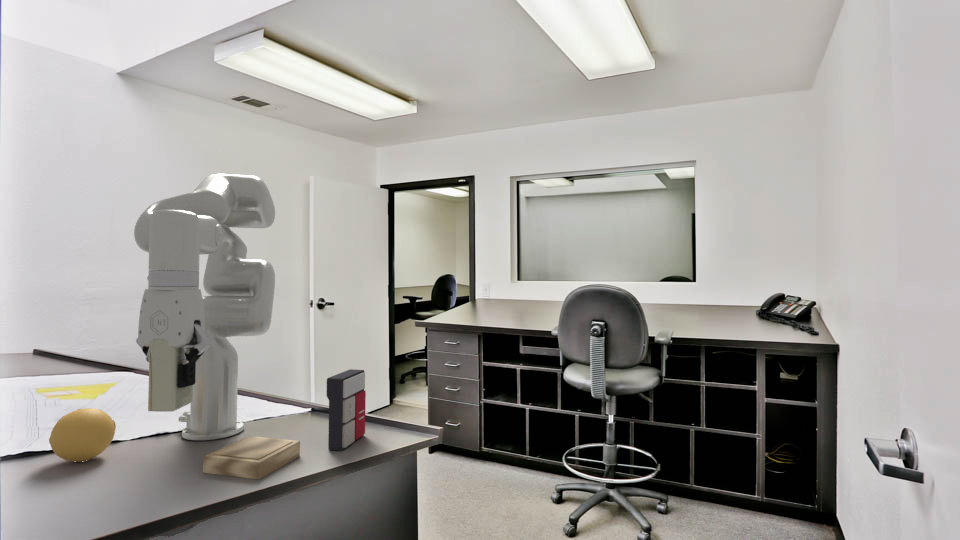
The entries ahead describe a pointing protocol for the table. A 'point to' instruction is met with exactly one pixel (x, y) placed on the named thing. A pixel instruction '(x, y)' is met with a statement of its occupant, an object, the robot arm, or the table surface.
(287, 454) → the oak plinth
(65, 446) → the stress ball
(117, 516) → the table surface
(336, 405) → the grey red panelled box
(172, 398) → the skincare box
